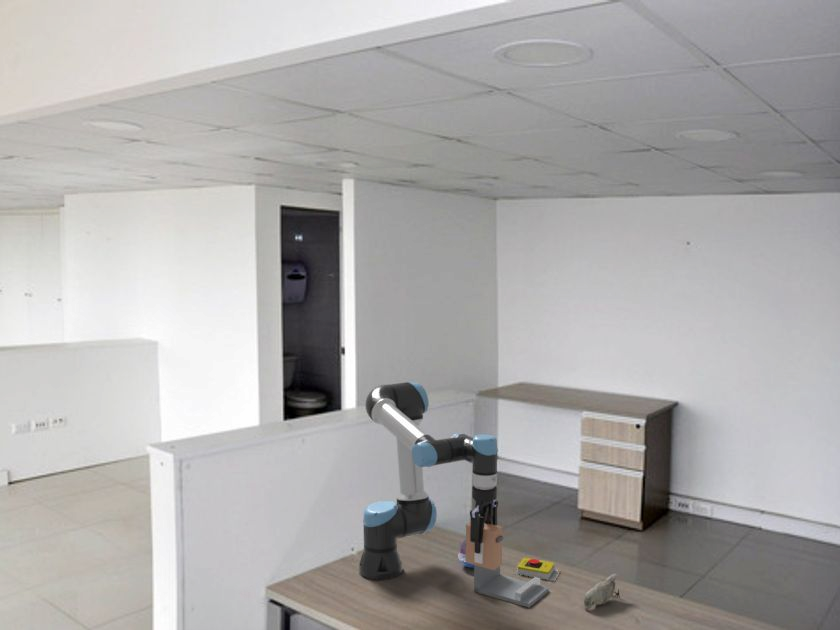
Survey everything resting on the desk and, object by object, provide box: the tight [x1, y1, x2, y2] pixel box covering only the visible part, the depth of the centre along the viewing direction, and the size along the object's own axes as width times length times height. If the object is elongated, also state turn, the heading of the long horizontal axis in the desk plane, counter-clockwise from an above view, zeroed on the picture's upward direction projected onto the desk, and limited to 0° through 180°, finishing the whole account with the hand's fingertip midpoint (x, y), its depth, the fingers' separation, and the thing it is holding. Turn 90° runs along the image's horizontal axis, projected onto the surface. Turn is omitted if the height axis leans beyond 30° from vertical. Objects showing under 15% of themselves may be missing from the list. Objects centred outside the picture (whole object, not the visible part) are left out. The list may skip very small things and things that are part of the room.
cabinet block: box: [465, 521, 504, 570], centre depth 226 cm, size 11×5×12 cm, turn 55°
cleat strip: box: [515, 577, 541, 601], centre depth 236 cm, size 2×14×2 cm, turn 145°
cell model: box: [457, 538, 474, 569], centre depth 259 cm, size 10×12×10 cm
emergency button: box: [516, 557, 560, 582], centre depth 254 cm, size 9×4×15 cm
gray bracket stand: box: [473, 565, 549, 608], centre depth 239 cm, size 20×14×10 cm
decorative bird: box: [583, 573, 621, 612], centre depth 231 cm, size 5×16×7 cm, turn 132°
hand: (483, 559), depth 226 cm, fingers closed on cabinet block, 5 cm apart
